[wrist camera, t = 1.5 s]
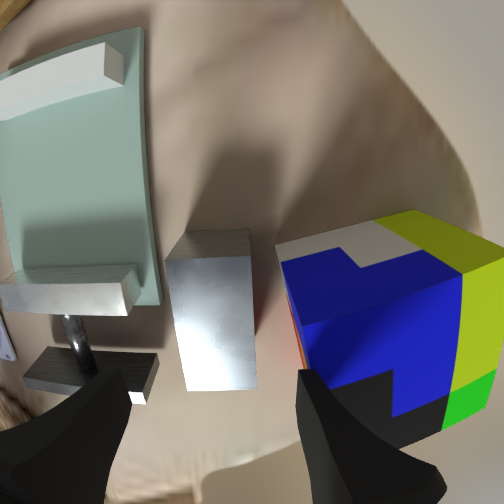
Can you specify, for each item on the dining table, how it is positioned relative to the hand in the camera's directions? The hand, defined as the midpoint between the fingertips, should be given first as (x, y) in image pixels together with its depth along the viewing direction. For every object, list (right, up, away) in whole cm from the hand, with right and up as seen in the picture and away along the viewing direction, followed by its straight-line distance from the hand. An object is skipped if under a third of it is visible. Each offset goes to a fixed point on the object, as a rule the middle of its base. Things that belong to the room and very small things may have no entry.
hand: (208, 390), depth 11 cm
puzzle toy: (+9, +3, +10) cm, 14 cm away
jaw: (-10, +1, +9) cm, 14 cm away
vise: (-11, +10, +7) cm, 16 cm away
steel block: (0, +3, +9) cm, 10 cm away
